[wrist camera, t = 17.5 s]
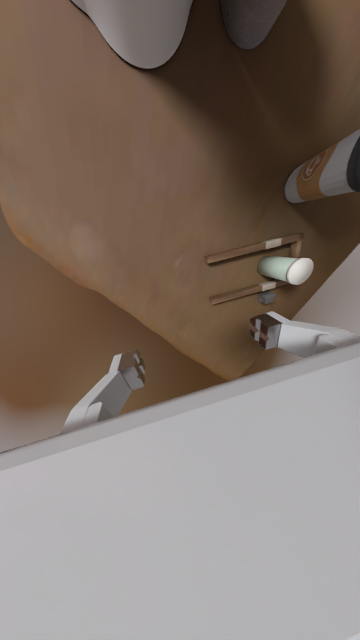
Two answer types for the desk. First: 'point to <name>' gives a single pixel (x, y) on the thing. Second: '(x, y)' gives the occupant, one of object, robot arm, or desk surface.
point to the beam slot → (265, 296)
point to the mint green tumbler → (286, 268)
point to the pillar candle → (250, 20)
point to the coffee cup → (327, 172)
